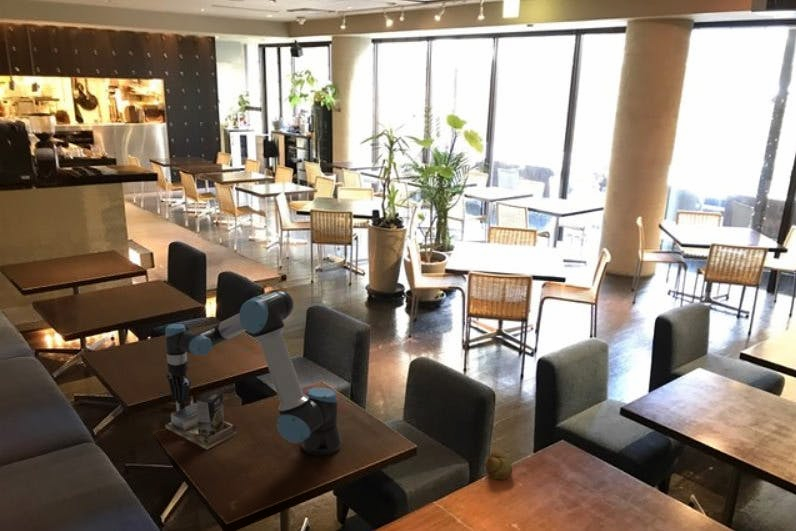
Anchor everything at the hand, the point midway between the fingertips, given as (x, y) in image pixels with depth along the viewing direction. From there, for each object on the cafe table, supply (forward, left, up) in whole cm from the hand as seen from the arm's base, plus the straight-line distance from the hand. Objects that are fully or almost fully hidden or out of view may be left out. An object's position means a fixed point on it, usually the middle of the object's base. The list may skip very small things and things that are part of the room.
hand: (181, 415), depth 250 cm
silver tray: (-12, 0, -3) cm, 13 cm away
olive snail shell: (-120, -48, -3) cm, 129 cm away
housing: (-6, 0, -1) cm, 6 cm away
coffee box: (-19, 0, -2) cm, 19 cm away
